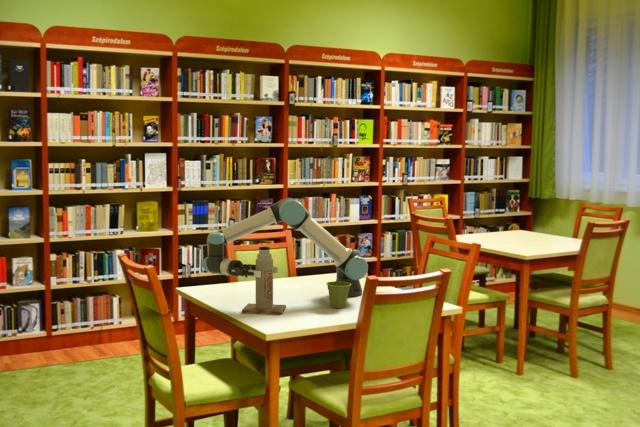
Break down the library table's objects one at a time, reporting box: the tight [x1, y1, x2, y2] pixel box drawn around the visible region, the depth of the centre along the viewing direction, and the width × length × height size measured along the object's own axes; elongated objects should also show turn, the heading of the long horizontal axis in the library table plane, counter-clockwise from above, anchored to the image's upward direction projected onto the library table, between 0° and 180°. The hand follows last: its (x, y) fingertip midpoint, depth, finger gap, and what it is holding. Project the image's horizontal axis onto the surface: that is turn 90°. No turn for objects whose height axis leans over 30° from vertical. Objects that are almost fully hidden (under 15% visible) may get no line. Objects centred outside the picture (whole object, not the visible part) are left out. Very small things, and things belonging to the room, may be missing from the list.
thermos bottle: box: [255, 246, 274, 309], centre depth 345 cm, size 8×8×28 cm
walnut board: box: [241, 302, 287, 316], centre depth 347 cm, size 18×14×2 cm
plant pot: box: [326, 280, 351, 309], centre depth 356 cm, size 12×12×11 cm
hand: (269, 272), depth 344 cm, fingers open, 13 cm apart
